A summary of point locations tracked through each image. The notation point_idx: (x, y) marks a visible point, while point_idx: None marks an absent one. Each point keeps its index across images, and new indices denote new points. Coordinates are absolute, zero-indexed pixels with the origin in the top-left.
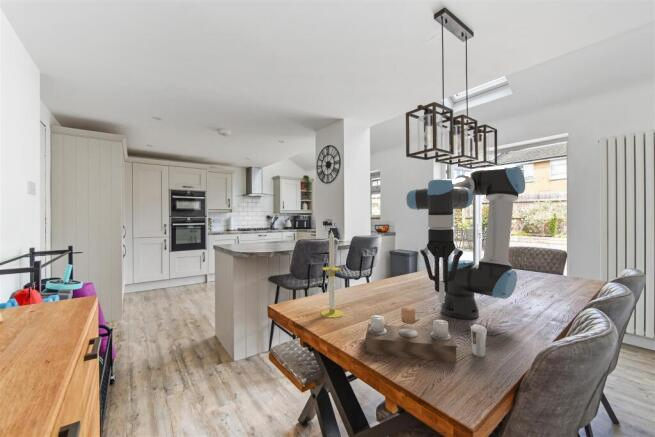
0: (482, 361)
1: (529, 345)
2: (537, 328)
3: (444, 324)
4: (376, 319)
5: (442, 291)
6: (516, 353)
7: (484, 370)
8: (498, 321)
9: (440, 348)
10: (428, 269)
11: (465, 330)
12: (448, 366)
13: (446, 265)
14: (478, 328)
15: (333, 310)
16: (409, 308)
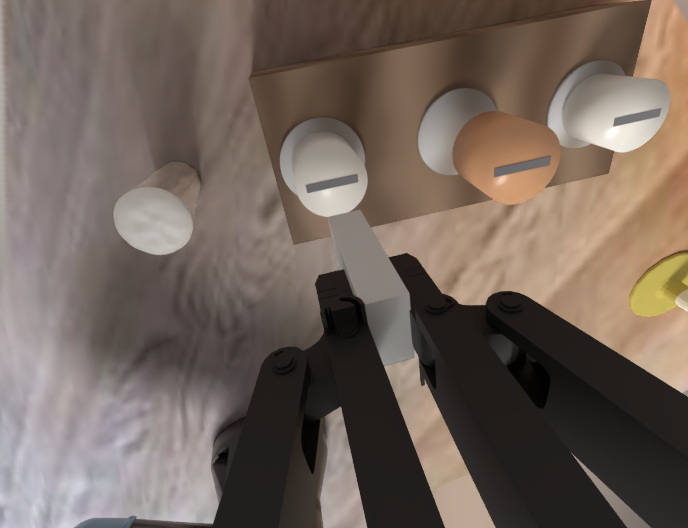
0: (158, 126)
1: (25, 323)
2: (29, 445)
3: (312, 158)
4: (647, 87)
5: (359, 253)
6: (54, 245)
7: (139, 45)
8: (151, 441)
9: (317, 63)
10: (626, 374)
11: (243, 343)
12: (278, 22)
13: (395, 523)
14: (148, 205)
15: (676, 289)
16: (513, 179)
